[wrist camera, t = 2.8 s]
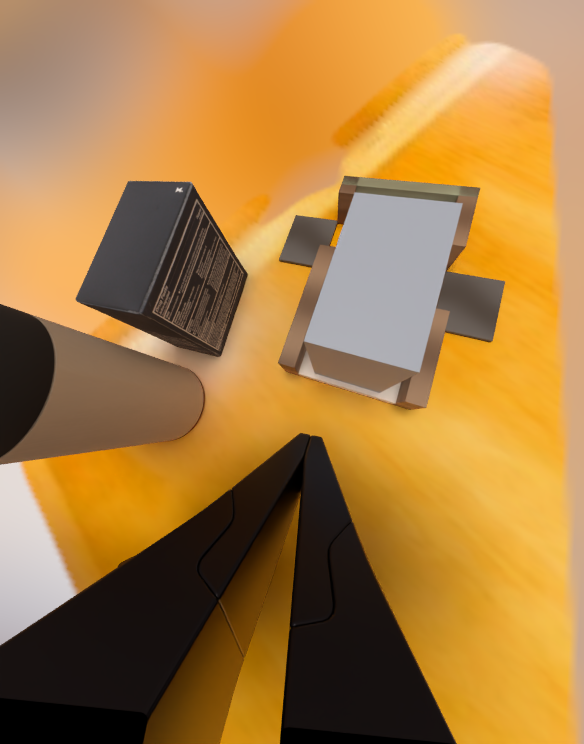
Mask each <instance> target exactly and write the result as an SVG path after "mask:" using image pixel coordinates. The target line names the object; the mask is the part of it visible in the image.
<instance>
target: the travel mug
mask: <svg viewBox="0 0 584 744" xmlns="http://www.w3.org/2000/svg"><path fill="white" fill-rule="evenodd" d="M203 401H204V396H203V389H202V386H201V383H200V381H199V379H198V378H197V377H196V375H195V374H194V373H193V372H191V371H190V370H188V369H186V368H184V367H181V366H178V365H175V364H172V363H169V362H166V361H164V360H161V359H158V358H155V357H152V356H149V355H146V354H143V353H140V352H137V351H135V350H132V349H129V348H126V347H123V346H120V345H117V344H114V343H111V342H109V341H106V340H103V339H100V338H97V337H94V336H91V335H88V334H85V333H82V332H80V331H77V330H74V329H71V328H68V327H65V326H62V325H59V324H56V323H54V322H51V321H48V320H45V319H42V318H39V317H36V316H33V315H30V314H27V313H25V312H22V311H19V310H16V309H13V308H10V307H7V306H4V305H1V304H0V465H1V464H8V463H15V462H22V461H29V460H36V459H43V458H51V457H58V456H65V455H72V454H79V453H86V452H93V451H100V450H107V449H114V448H121V447H129V446H136V445H143V444H150V443H157V442H164V441H171V440H175V439H178V438H180V437H182V436H183V435H185V434H186V433H187V432H189V431H190V430H191V429H192V428H193V426H194V425H195V424H196V422H197V420H198V419H199V417H200V414H201V411H202V408H203Z"/></svg>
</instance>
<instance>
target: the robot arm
mask: <svg viewBox="0 0 584 744" xmlns="http://www.w3.org/2000/svg"><path fill="white" fill-rule="evenodd" d="M300 494H301V497H300ZM299 498H300V509H299V521H298V533H297V545H296V556H295V568H294V580H293V592H292V604H291V616H290V631H289V640H288V652H287V664H286V676H285V688H284V700H283V712H282V724H281V736H280V744H457V743H456V741H455V739H454V737H453V735H452V733H451V731H450V729H449V727H448V725H447V723H446V721H445V719H444V717H443V715H442V713H441V711H440V709H439V706H438V704H437V702H436V700H435V698H434V696H433V694H432V692H431V690H430V688H429V686H428V684H427V682H426V680H425V678H424V676H423V674H422V671H421V669H420V667H419V665H418V663H417V661H416V659H415V657H414V655H413V653H412V651H411V649H410V647H409V645H408V643H407V641H406V639H405V636H404V634H403V632H402V630H401V628H400V626H399V624H398V622H397V620H396V618H395V616H394V614H393V612H392V610H391V608H390V606H389V604H388V601H387V599H386V597H385V595H384V593H383V591H382V589H381V587H380V585H379V583H378V580H377V578H376V576H375V574H374V572H373V570H372V567H371V565H370V563H369V561H368V558H367V556H366V553H365V551H364V548H363V546H362V543H361V541H360V538H359V536H358V533H357V530H356V528H355V525H354V523H353V522H352V518H351V515H350V512H349V510H348V507H347V504H346V502H345V499H344V496H343V493H342V491H341V488H340V485H339V483H338V480H337V477H336V474H335V472H334V469H333V466H332V464H331V461H330V458H329V455H328V453H327V450H326V447H325V445H324V442H323V439H322V438H321V437H318V436H313V435H312V436H310V435H308V434H303V433H300V434H298V435H297V436H296V437H295V438H293V439H292V440H291V441H290V442H288V443H287V444H286V445H285V446H284V447H282V448H281V449H280V450H279V451H277V452H276V453H275V454H274V455H272V456H271V457H270V458H269V459H267V460H266V461H265V462H264V463H262V464H261V465H260V466H259V467H257V468H256V469H255V470H254V471H253V472H251V473H250V474H249V475H248V476H246V477H245V478H244V479H243V480H241V481H240V482H239V483H238V484H236V485H235V486H234V487H233V488H232V490H231V489H230V490H228V491H227V492H226V493H225V494H223V495H222V496H221V497H220V498H218V499H217V500H216V501H214V502H213V503H212V504H210V505H209V506H208V507H207V508H205V509H204V510H203V511H201V512H200V513H198V514H197V515H195V516H194V517H192V518H191V519H190V520H188V521H187V522H185V523H184V524H182V525H181V526H179V527H178V528H176V529H175V530H173V531H172V532H170V533H169V534H167V535H166V536H164V537H163V538H161V539H160V540H158V541H157V542H155V543H154V544H152V545H151V546H149V547H148V548H146V549H145V550H143V551H142V552H140V553H139V554H137V555H136V556H134V557H131V558H129V559H127V560H125V561H123V562H121V563H120V564H119V565H118V568H116V569H115V570H113V571H112V572H110V573H109V574H107V575H106V576H104V577H103V578H101V579H100V580H98V581H97V582H95V583H94V584H92V585H91V586H89V587H88V588H86V589H85V590H83V591H82V592H80V593H79V594H77V595H76V596H74V597H73V598H71V599H70V600H68V601H67V602H65V603H64V604H62V605H61V606H59V607H58V608H56V609H55V610H53V611H52V612H50V613H49V614H47V615H46V616H44V617H43V618H41V619H40V620H38V621H37V622H35V623H34V624H32V625H30V626H29V627H27V628H26V629H25V630H23V631H21V632H20V633H19V634H17V635H16V636H14V637H12V638H11V639H9V640H8V641H6V642H5V643H3V644H2V645H0V744H220V741H221V737H222V733H223V730H224V726H225V722H226V718H227V715H228V711H229V707H230V703H231V700H232V696H233V693H234V689H235V686H236V683H237V679H238V676H239V673H240V670H241V667H242V664H243V661H244V657H245V655H246V652H247V649H248V647H249V644H250V641H251V638H252V635H253V632H254V629H255V626H256V623H257V620H258V617H259V614H260V612H261V609H262V606H263V603H264V600H265V597H266V594H267V591H268V588H269V585H270V582H271V579H272V577H273V574H274V571H275V568H276V565H277V562H278V559H279V556H280V553H281V550H282V547H283V544H284V542H285V539H286V536H287V533H288V530H289V527H290V524H291V521H292V518H293V515H294V512H295V509H296V507H297V504H298V501H299Z"/></svg>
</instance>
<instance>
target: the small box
mask: <svg viewBox="0 0 584 744" xmlns="http://www.w3.org/2000/svg"><path fill="white" fill-rule="evenodd" d="M246 277H247V272H246V271H245V269H244V268H243V266H242V265H241V263H240V262H239V260H238V259H237V257H236V255H235V254H234V252H233V250H232V249H231V247H230V245H229V244H228V242H227V241H226V239H225V237H224V235H223V234H222V232H221V230H220V229H219V227H218V226H217V224H216V222H215V221H214V219H213V217H212V216H211V214H210V212H209V211H208V209H207V208H206V206H205V204H204V202H203V201H202V199H201V198H200V196H199V194H198V193H197V191H196V189H195V187H194V185H193V184H192V183H191V182H160V181H128V183H127V185H126V188H125V190H124V192H123V194H122V197H121V199H120V201H119V204H118V206H117V208H116V210H115V212H114V214H113V217H112V219H111V221H110V223H109V226H108V228H107V230H106V232H105V235H104V237H103V239H102V242H101V244H100V246H99V248H98V250H97V252H96V255H95V257H94V259H93V261H92V264H91V266H90V268H89V271H88V273H87V275H86V277H85V279H84V282H83V284H82V286H81V288H80V290H79V293H78V295H77V297H76V301H77V302H80V303H81V304H84V305H86V306H88V307H91V308H93V309H95V310H98V311H100V312H102V313H104V314H107V315H109V316H111V317H113V318H115V319H117V320H120V321H122V322H124V323H126V324H129V325H131V326H133V327H135V328H137V329H140V330H142V331H144V332H146V333H148V334H151V335H153V336H155V337H157V338H159V339H162V340H164V341H166V342H168V343H171V344H172V345H175V346H177V347H181V348H185V349H189V350H193V351H197V352H201V353H206V354H210V355H214V356H221V353H222V350H223V347H224V344H225V341H226V338H227V335H228V332H229V329H230V326H231V323H232V320H233V317H234V314H235V311H236V308H237V305H238V302H239V299H240V296H241V292H242V289H243V286H244V283H245V280H246Z"/></svg>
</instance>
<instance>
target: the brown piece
mask: <svg viewBox="0 0 584 744" xmlns="http://www.w3.org/2000/svg"><path fill="white" fill-rule="evenodd" d="M479 190H480V188H477V187H465V186H454V185H442V184H431V183H419V182H408V181H396V180H385V179H374V178H362V177H351V176H344V179H343V182H342V185H341V187H340V190H339V197H338V221H335V220H328V219H320V218H313V217H305V216H298V215H296V216H295V219H294V222H293V224H292V227H291V229H290V232H289V235H288V237H287V240H286V243H285V245H284V248H283V250H282V253H281V256H280V258H279V261H282V262H287V263H292V264H297V265H303V266H308V267H312V269H311V272H310V274H309V277H308V280H307V283H306V286H305V288H304V291H303V294H302V297H301V300H300V303H299V305H298V308H297V311H296V314H295V317H294V319H293V322H292V325H291V328H290V331H289V333H288V336H287V339H286V342H285V345H284V348H283V350H282V353H281V356H280V359H279V362H278V363H279V365H280V366H281V367H282V368H283V369H284V370H285V371H287V372H290V373H293V374H296V375H300V376H303V377H306V378H309V379H312V380H316V381H319V382H322V383H325V384H329V385H332V386H335V387H338V388H342V389H345V390H348V391H351V392H355V393H358V394H361V395H364V396H367V397H371V398H374V399H377V400H380V401H384V402H387V403H390V404H393V405H397V406H400V407H403V408H406V409H419V408H426V407H427V403H428V399H429V395H430V390H431V386H432V382H433V378H434V374H435V370H436V366H437V362H438V358H439V354H440V350H441V346H442V341H443V337H444V333H445V332H448V333H452V334H457V335H461V336H465V337H470V338H474V339H479V340H483V341H488V342H491V341H493V336H494V331H495V327H496V322H497V317H498V312H499V308H500V303H501V298H502V293H503V288H504V284H505V281H499V280H493V279H487V278H482V277H476V276H470V275H464V274H458V273H452V272H446V271H447V270H448V268H449V267H450V266H451V265H452V263H453V262H454V261H455V260H456V258H457V257H458V256H459V254H460V253H461V252H462V251H463V249H464V248H465V247H466V243H467V239H468V235H469V231H470V227H471V223H472V219H473V215H474V211H475V207H476V203H477V198H478V194H479ZM355 192H357V193H366V194H376V195H386V196H396V197H405V198H415V199H425V200H434V201H444V202H454V203H463V204H462V208H461V212H460V216H459V220H458V224H457V228H456V232H455V236H454V240H453V244H452V247H451V251H450V255H449V259H448V263H447V267H446V271H445V275H444V279H443V283H442V287H441V290H440V294H439V298H438V302H437V306H436V310H435V314H434V318H433V322H432V326H431V330H430V334H429V337H428V341H427V345H426V349H425V353H424V357H423V361H422V365H421V369H420V373H418V374H416V375H414V376H412V377H410V378H408V379H406V380H404V381H402V382H400V383H398V384H396V385H394V386H392V387H390V388H388V389H386V390H384V391H382V392H380V393H378V392H374V391H371V390H368V389H365V388H361V387H358V386H355V385H351V384H348V383H345V382H341V381H338V380H335V379H331V378H328V377H325V376H321V375H318V374H315V373H314V370H313V367H312V364H311V361H310V358H309V355H308V352H307V349H306V346H305V344H304V339H305V336H306V333H307V330H308V327H309V324H310V321H311V319H312V316H313V313H314V310H315V307H316V304H317V301H318V298H319V295H320V292H321V289H322V286H323V284H324V281H325V278H326V275H327V272H328V269H329V266H330V263H331V260H332V257H333V254H334V251H335V249H336V247H332V246H330V243H331V240H332V238H333V235H334V232H335V229H336V226H337V223H340V224H344V222H345V219H346V217H347V214H348V211H349V208H350V205H351V202H352V199H353V196H354V193H355Z"/></svg>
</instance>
